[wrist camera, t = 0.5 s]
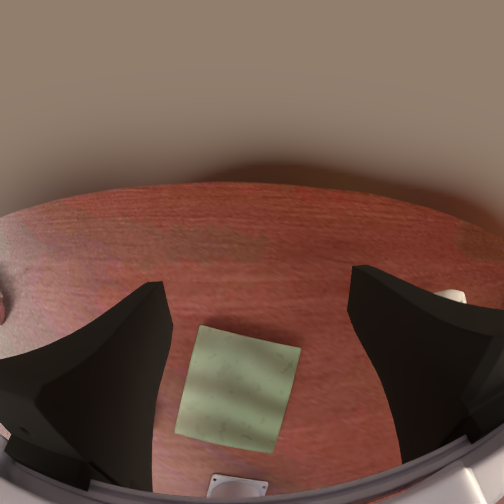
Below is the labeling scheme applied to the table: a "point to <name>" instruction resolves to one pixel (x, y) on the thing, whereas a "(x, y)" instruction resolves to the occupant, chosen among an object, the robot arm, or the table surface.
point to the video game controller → (1, 309)
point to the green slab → (236, 390)
